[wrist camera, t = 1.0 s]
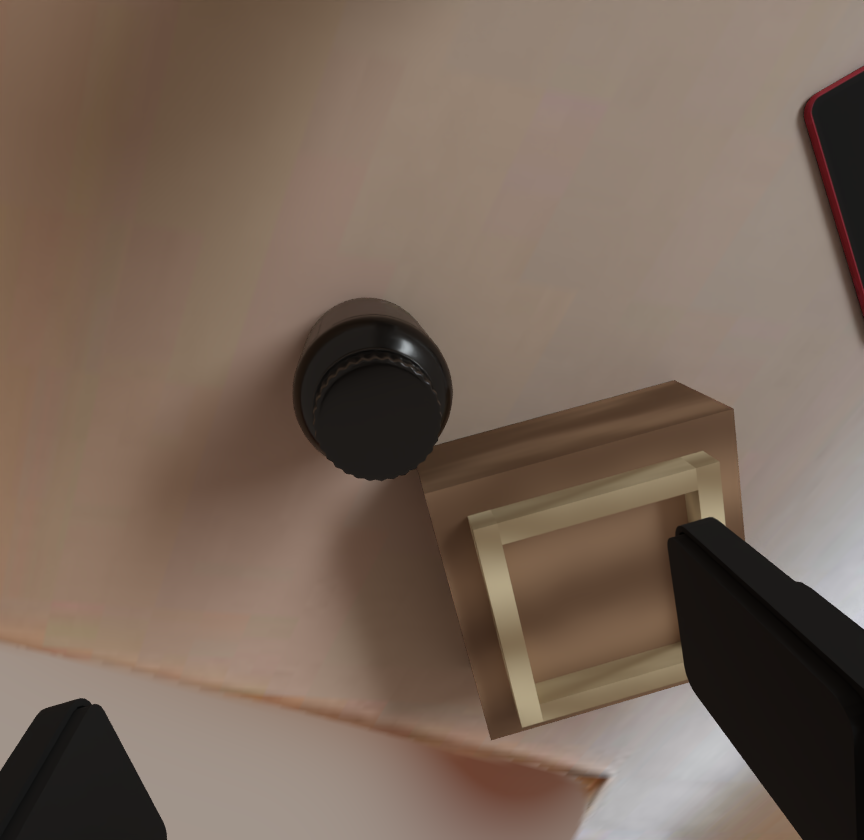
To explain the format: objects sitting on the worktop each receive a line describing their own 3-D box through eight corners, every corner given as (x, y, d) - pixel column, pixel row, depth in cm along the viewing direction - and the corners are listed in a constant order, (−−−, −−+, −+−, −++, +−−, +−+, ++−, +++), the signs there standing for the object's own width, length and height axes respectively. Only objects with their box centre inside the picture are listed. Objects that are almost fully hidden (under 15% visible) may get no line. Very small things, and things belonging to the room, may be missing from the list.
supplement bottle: (401, 434, 35) (423, 532, 24) (287, 391, 34) (253, 474, 22) (450, 324, 34) (498, 374, 22) (333, 273, 32) (321, 299, 21)
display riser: (413, 451, 36) (427, 507, 29) (674, 380, 36) (751, 417, 29) (472, 668, 41) (496, 761, 34) (700, 603, 41) (771, 680, 34)
